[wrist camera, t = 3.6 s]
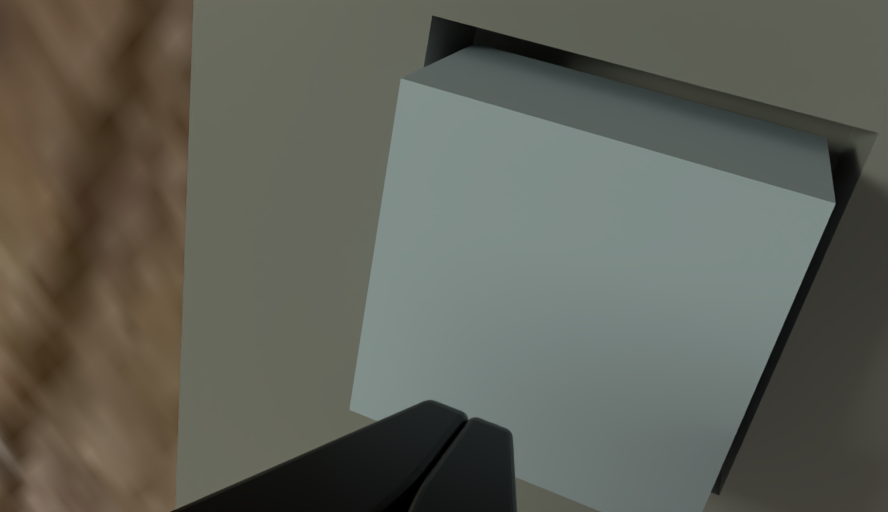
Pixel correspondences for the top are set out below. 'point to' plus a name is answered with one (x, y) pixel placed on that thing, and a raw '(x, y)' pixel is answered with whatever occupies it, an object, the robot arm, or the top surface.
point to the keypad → (361, 189)
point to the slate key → (585, 271)
